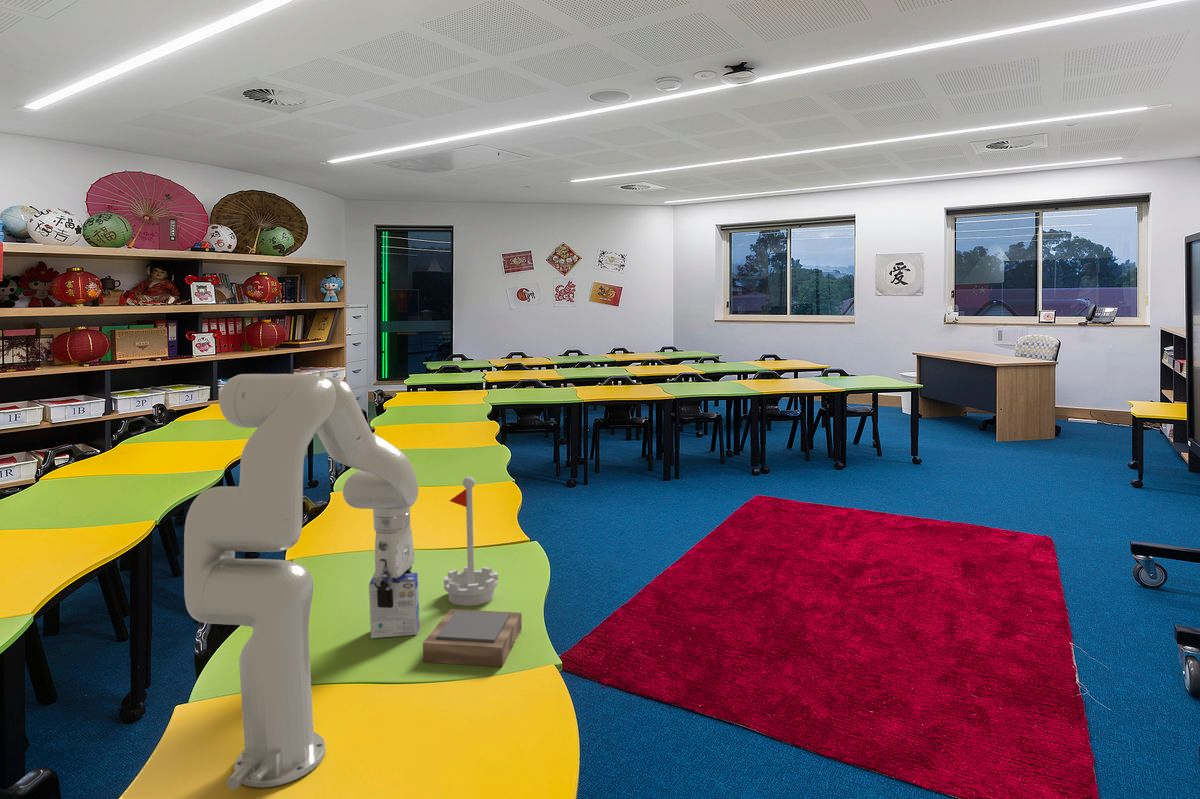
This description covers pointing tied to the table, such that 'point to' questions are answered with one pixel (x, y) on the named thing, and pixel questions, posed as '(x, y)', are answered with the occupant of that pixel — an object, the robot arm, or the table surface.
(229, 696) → the table surface
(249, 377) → the robot arm
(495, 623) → the walnut plinth
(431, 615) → the table surface
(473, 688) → the table surface
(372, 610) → the ink cartridge box
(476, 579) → the flag stand
